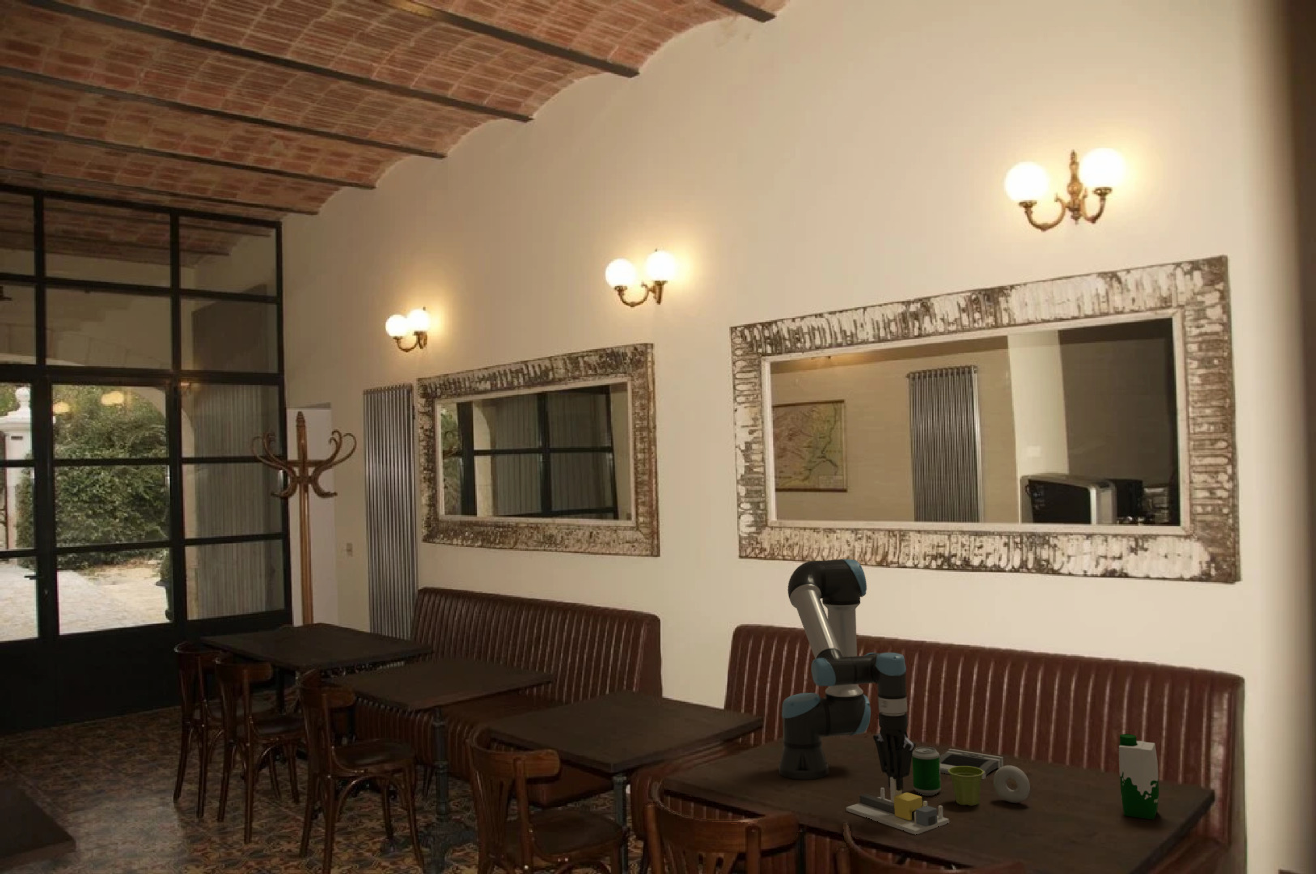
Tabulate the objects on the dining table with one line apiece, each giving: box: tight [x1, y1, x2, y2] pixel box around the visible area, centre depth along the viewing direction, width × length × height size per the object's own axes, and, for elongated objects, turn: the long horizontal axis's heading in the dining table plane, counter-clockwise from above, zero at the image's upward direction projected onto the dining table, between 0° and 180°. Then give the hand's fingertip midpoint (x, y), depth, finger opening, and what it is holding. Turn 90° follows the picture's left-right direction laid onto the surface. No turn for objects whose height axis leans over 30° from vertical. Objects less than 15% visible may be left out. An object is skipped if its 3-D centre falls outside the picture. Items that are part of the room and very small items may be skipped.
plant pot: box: [948, 766, 984, 807], centre depth 280 cm, size 9×9×9 cm
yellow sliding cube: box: [894, 792, 923, 820], centre depth 267 cm, size 5×5×5 cm
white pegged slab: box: [845, 787, 950, 836], centre depth 270 cm, size 24×13×5 cm, turn 35°
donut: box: [992, 765, 1031, 804], centre depth 278 cm, size 10×3×10 cm, turn 49°
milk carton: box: [1118, 733, 1160, 820], centre depth 266 cm, size 9×9×20 cm
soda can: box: [911, 746, 942, 796], centre depth 290 cm, size 8×8×12 cm
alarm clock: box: [939, 748, 1004, 780], centre depth 310 cm, size 17×5×16 cm
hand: (896, 801), depth 270 cm, fingers closed
